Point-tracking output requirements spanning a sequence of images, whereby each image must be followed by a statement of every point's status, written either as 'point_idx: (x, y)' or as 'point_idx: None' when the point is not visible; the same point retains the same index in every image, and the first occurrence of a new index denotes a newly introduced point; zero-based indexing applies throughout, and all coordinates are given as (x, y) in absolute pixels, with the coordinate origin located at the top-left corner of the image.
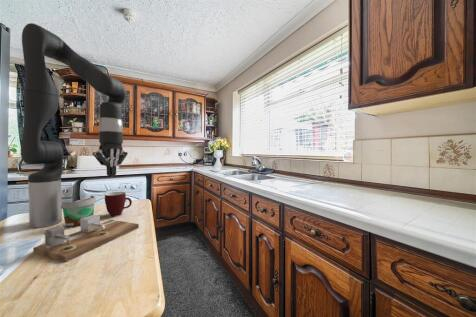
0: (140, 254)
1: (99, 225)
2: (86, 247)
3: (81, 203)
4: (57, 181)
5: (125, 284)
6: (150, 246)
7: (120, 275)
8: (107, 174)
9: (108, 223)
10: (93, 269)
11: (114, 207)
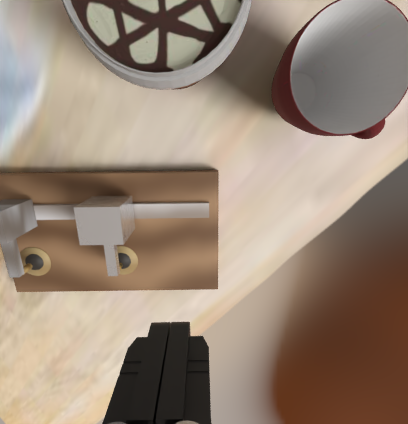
0: (115, 378)
1: (108, 266)
2: (60, 290)
3: (130, 77)
4: None
5: (49, 412)
6: None
7: (57, 394)
8: (132, 351)
9: (177, 210)
10: (43, 348)
11: (282, 117)
